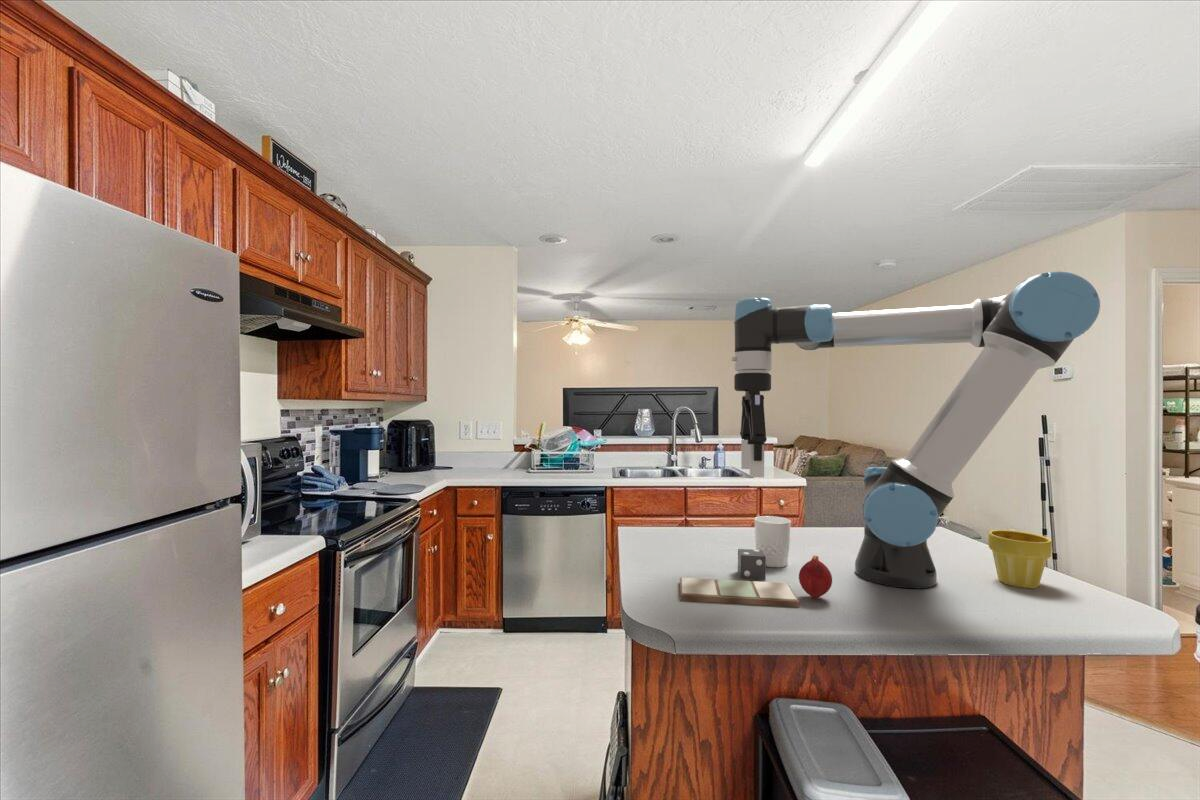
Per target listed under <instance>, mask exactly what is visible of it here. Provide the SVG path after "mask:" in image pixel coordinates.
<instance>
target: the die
mask: <svg viewBox="0 0 1200 800" xmlns="http://www.w3.org/2000/svg"><path fill="white" fill-rule="evenodd" d="M766 567H767V566H766V556H765V555H764V553H763V551H762V550H756V549H752V548H751V549H750V548H738V549H737V573H738V576H739V579H740V580H751V581H757V580H758V581H766Z"/></svg>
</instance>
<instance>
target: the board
mask: <svg viewBox="0 0 1200 800" xmlns="http://www.w3.org/2000/svg"><path fill="white" fill-rule="evenodd" d="M679 587H680V588H679V590H680V593H679V595H680V601H683V602H701V603H702V602H703V603H716V604H717V603H719V604H733V605H734V604H738V605H752V606H753V605H754V606H770V607H771V606H774V607H791V608H800V601H799V599H798V598H797V596H796V594H795V593H794V591H793V590H792V588H791V586H790V585H789V583H787V582H778V581H777V582H775V581H774V582H773V581H759V580H758V581H757V580H751V581H750V580H739V579H738V580H737V579H735V580H733V579H714V578H700V577H699V578H696V577H680V578H679Z"/></svg>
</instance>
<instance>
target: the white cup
mask: <svg viewBox="0 0 1200 800" xmlns="http://www.w3.org/2000/svg"><path fill="white" fill-rule="evenodd" d="M791 524H792V521H791V519H789V518H786V517H783V516H781V517H780V516H776V515H775V516H773V515H761V516H756V517H754V534H755V535H754V537H755V538H754V539H755V550H762V551H763V553H764V555H765V556H766V567H769V568H784V567H787V566H788V565H789V553H790V541H791Z"/></svg>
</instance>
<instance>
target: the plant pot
mask: <svg viewBox="0 0 1200 800" xmlns="http://www.w3.org/2000/svg"><path fill="white" fill-rule="evenodd" d="M987 538H988V542H987V543H988V548H989V549H990V550H991V551H992V555H993V561H994V565H995V569H996V574H997V579H998V581H999V582H1001V583H1003V584H1006V585H1009V586H1013V587H1017V588H1022V589H1023V588H1024V589H1036V588H1038V587H1040V583H1041V579H1042V576H1043V573H1044V570H1045V566H1046V563H1047V560H1048V559H1050V558H1051V557H1052V551H1053V550H1052V549H1053V548H1052V547H1053V541H1052V539H1051V538H1050V537H1046V536H1044V535H1040V534H1036V533H1033V532H1026V531H1021V530H1020V531H1019V530H1009V529H993V530H990V531H989V532H988V537H987Z"/></svg>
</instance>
